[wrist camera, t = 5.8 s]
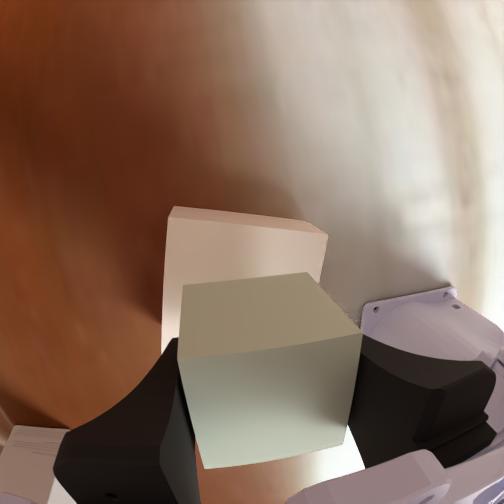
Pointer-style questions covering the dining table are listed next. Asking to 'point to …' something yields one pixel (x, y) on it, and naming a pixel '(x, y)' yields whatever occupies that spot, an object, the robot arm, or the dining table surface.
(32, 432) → the supplement box
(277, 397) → the sage block
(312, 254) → the cream block
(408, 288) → the dining table surface
